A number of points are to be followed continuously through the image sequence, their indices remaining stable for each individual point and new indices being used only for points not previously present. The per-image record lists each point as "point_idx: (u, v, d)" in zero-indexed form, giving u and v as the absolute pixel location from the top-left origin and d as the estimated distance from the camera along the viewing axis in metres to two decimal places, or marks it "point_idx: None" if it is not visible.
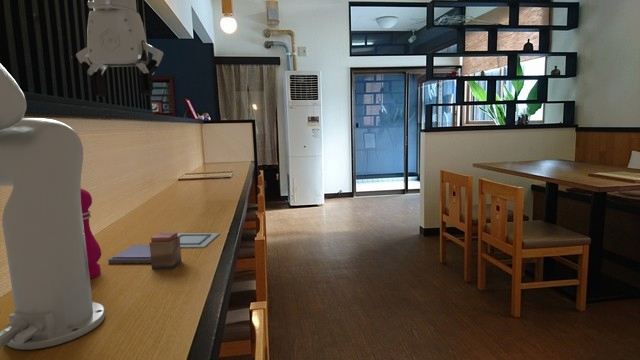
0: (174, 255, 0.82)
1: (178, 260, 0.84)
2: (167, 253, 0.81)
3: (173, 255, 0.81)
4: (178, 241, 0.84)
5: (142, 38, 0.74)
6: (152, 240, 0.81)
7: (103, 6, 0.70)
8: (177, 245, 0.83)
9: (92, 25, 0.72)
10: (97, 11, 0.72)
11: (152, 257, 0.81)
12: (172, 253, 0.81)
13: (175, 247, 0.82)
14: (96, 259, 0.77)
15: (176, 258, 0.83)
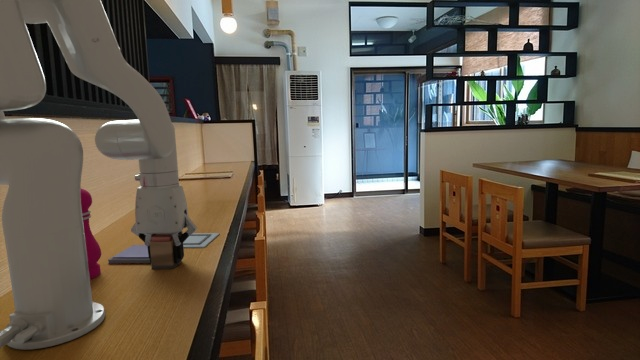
0: None
1: None
2: (167, 253, 0.81)
3: None
4: None
5: (184, 208, 0.81)
6: (152, 240, 0.81)
7: (151, 188, 0.77)
8: None
9: (140, 201, 0.79)
10: (145, 189, 0.79)
11: (152, 257, 0.81)
12: (172, 252, 0.81)
13: None
14: (96, 259, 0.77)
15: None
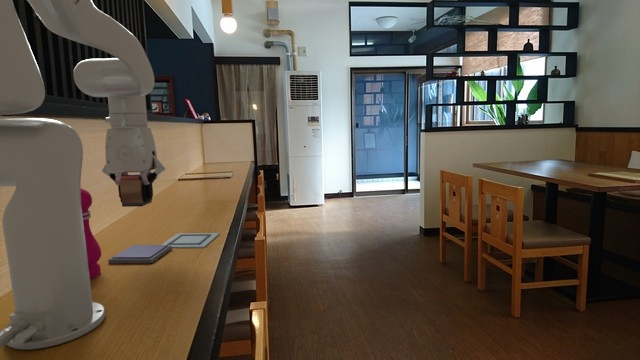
0: None
1: None
2: (137, 191, 0.85)
3: None
4: None
5: (152, 149, 0.86)
6: (122, 178, 0.85)
7: (119, 127, 0.82)
8: None
9: (110, 141, 0.84)
10: (114, 129, 0.83)
11: (122, 195, 0.86)
12: (141, 191, 0.86)
13: None
14: (96, 259, 0.77)
15: None
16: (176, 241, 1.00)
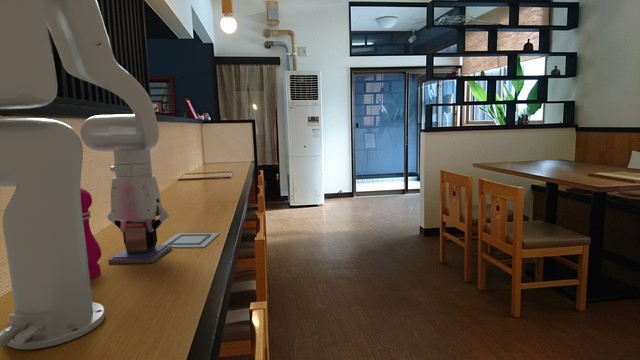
0: None
1: None
2: (141, 238, 0.87)
3: (146, 240, 0.88)
4: None
5: (157, 197, 0.87)
6: (127, 226, 0.87)
7: (124, 178, 0.83)
8: None
9: (115, 190, 0.85)
10: (119, 179, 0.85)
11: (127, 242, 0.87)
12: (145, 238, 0.87)
13: None
14: (96, 259, 0.77)
15: None
16: (176, 241, 1.00)
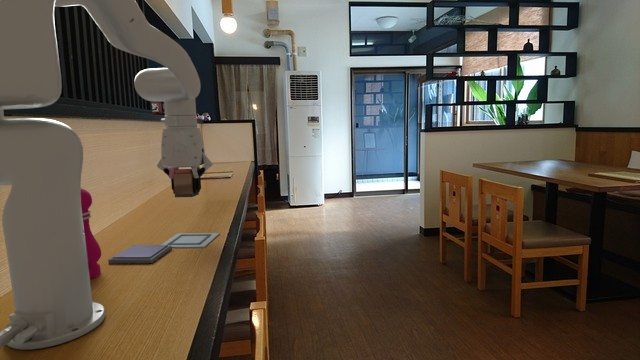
0: None
1: None
2: (188, 183, 0.97)
3: (192, 185, 0.98)
4: None
5: (202, 147, 0.97)
6: (175, 172, 0.97)
7: (175, 127, 0.93)
8: None
9: (165, 139, 0.95)
10: (169, 129, 0.95)
11: (175, 187, 0.97)
12: (192, 183, 0.97)
13: None
14: (96, 259, 0.77)
15: None
16: (176, 241, 1.00)
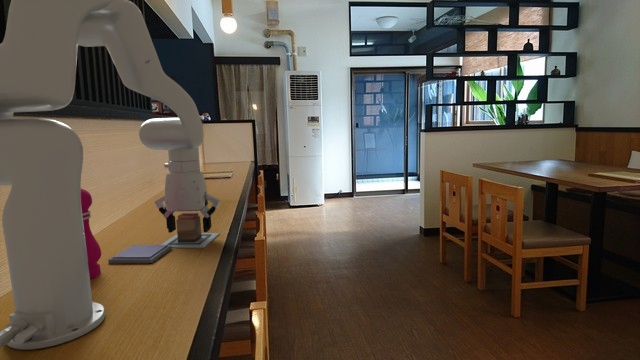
0: (196, 231, 1.00)
1: (199, 235, 1.02)
2: (191, 229, 0.98)
3: (195, 230, 0.99)
4: (199, 220, 1.02)
5: (205, 191, 0.99)
6: (178, 218, 0.98)
7: (178, 173, 0.95)
8: (198, 222, 1.01)
9: (169, 184, 0.97)
10: (173, 174, 0.96)
11: (178, 232, 0.99)
12: (194, 228, 0.99)
13: (196, 224, 1.00)
14: (96, 259, 0.77)
15: (197, 233, 1.01)
16: (176, 241, 1.00)
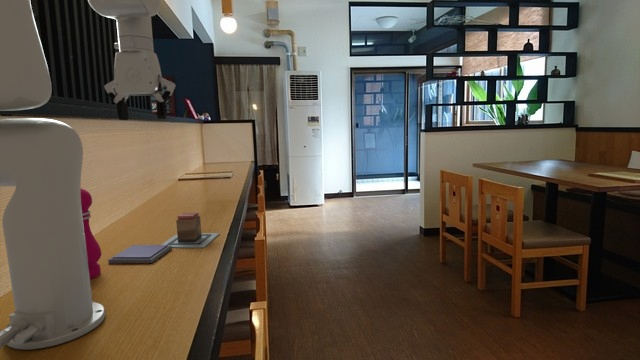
0: (196, 231, 1.00)
1: (199, 235, 1.02)
2: (191, 229, 0.98)
3: (195, 230, 0.99)
4: (199, 220, 1.02)
5: (158, 73, 0.91)
6: (178, 218, 0.98)
7: (127, 49, 0.87)
8: (198, 222, 1.01)
9: (118, 64, 0.89)
10: (122, 52, 0.89)
11: (178, 232, 0.99)
12: (194, 228, 0.99)
13: (196, 224, 1.00)
14: (96, 259, 0.77)
15: (197, 233, 1.01)
16: (176, 241, 1.00)
